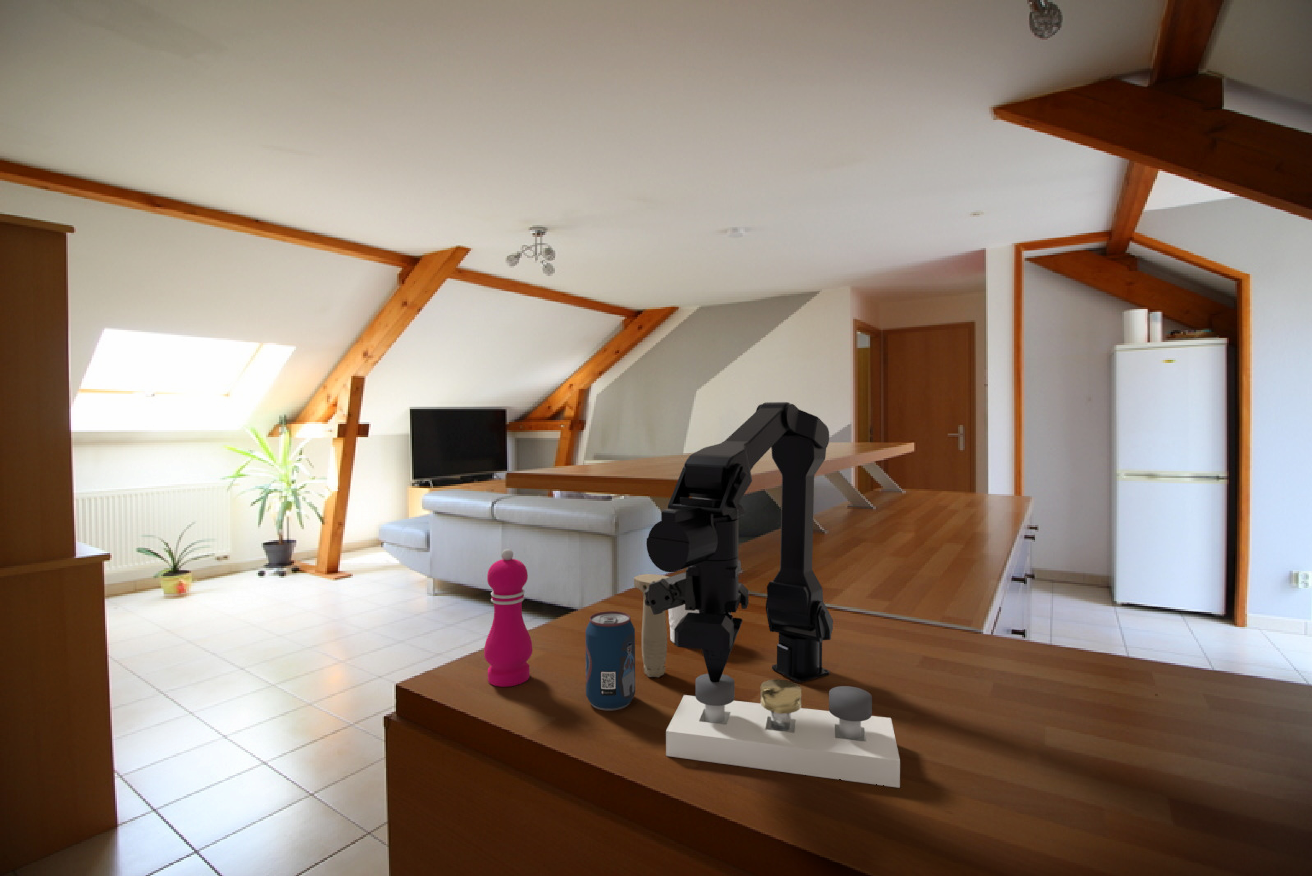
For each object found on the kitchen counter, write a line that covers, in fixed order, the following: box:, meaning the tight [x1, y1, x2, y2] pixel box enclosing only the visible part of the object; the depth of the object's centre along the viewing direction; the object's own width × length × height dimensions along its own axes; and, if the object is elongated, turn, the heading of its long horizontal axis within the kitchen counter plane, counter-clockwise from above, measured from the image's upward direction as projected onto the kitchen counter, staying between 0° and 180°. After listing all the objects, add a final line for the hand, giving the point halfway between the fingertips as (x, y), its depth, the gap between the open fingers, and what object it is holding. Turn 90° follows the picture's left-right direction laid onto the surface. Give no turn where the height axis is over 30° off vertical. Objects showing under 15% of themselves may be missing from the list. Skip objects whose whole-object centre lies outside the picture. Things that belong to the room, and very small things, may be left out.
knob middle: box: [760, 678, 802, 731], centre depth 77 cm, size 5×5×5 cm
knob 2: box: [828, 685, 873, 739], centre depth 75 cm, size 5×5×5 cm
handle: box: [633, 573, 669, 678], centre depth 100 cm, size 5×6×15 cm
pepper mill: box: [483, 548, 533, 688], centre depth 98 cm, size 7×7×20 cm
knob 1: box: [695, 673, 736, 723], centre depth 79 cm, size 5×5×5 cm
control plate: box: [665, 694, 901, 789], centre depth 77 cm, size 26×10×3 cm, turn 75°
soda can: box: [585, 610, 636, 711], centre depth 90 cm, size 7×7×12 cm
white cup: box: [667, 604, 699, 644], centre depth 115 cm, size 8×8×10 cm
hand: (715, 681), depth 79 cm, fingers closed, pressing on knob 1
